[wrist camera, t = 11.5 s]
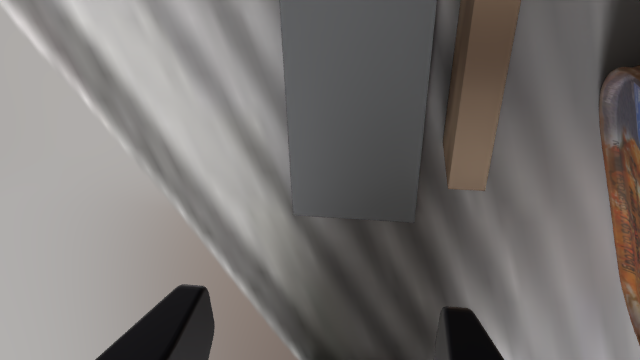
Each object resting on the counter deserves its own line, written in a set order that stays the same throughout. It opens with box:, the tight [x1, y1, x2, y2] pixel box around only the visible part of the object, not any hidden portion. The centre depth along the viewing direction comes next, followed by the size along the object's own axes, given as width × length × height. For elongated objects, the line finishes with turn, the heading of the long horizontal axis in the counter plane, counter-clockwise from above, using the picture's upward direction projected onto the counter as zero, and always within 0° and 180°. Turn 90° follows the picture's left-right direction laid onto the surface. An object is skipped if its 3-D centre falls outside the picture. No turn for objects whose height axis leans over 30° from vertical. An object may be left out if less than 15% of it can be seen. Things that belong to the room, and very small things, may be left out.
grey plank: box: [280, 0, 437, 223], centre depth 18 cm, size 16×5×1 cm, turn 1°
